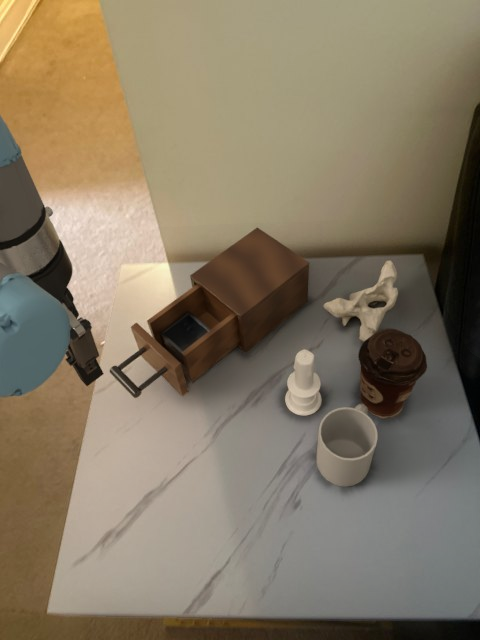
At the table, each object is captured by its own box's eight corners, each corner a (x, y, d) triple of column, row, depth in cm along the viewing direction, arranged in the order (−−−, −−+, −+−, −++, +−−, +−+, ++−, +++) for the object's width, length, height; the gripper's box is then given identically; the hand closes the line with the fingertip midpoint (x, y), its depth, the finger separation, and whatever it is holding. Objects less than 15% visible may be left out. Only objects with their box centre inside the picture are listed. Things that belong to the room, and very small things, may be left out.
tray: (191, 372, 85) (188, 359, 82) (163, 346, 89) (158, 333, 86) (220, 348, 87) (218, 335, 85) (191, 324, 91) (188, 310, 88)
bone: (326, 329, 92) (320, 296, 86) (370, 273, 98) (367, 239, 92) (375, 350, 87) (372, 317, 81) (418, 290, 93) (418, 255, 87)
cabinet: (245, 353, 89) (240, 316, 81) (197, 313, 95) (189, 275, 87) (308, 301, 94) (309, 262, 87) (259, 266, 100) (257, 227, 92)
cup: (307, 473, 76) (309, 444, 69) (336, 414, 81) (340, 382, 74) (357, 497, 74) (364, 470, 67) (384, 434, 79) (393, 403, 72)
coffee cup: (361, 431, 80) (372, 383, 69) (343, 382, 85) (350, 330, 74) (420, 417, 80) (439, 368, 70) (398, 369, 85) (413, 317, 75)
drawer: (150, 423, 82) (138, 396, 76) (109, 380, 87) (95, 352, 81) (248, 343, 89) (244, 313, 83) (205, 307, 94) (199, 276, 88)
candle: (284, 384, 85) (284, 338, 76) (320, 384, 85) (324, 337, 75) (285, 416, 82) (284, 372, 72) (322, 416, 81) (326, 371, 72)
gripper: (91, 266, 54) (144, 389, 73) (24, 204, 60) (88, 332, 79) (24, 310, 51) (96, 426, 70) (-39, 241, 58) (43, 365, 77)
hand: (92, 376), depth 75 cm, fingers closed
